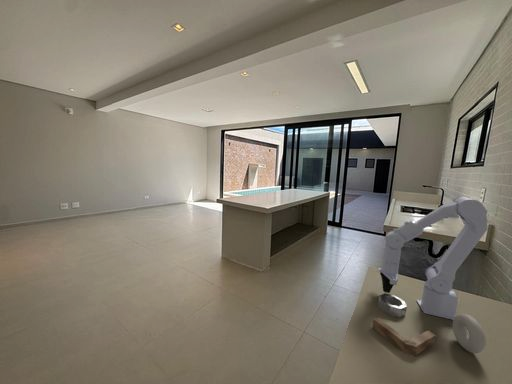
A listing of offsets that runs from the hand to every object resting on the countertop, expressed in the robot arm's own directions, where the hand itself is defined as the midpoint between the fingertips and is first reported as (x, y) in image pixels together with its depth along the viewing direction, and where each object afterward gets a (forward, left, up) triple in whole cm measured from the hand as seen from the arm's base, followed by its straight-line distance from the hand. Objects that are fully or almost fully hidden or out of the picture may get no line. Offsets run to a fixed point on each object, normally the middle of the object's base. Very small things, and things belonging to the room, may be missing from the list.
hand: (386, 291), depth 89 cm
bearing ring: (0, +9, -2) cm, 9 cm away
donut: (-17, +20, -2) cm, 26 cm away
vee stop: (0, +25, -2) cm, 25 cm away
